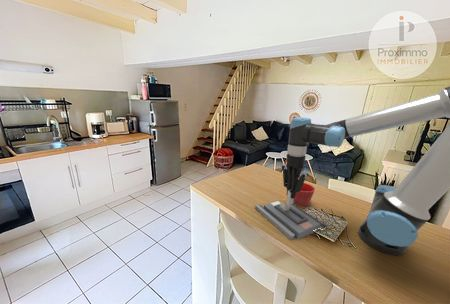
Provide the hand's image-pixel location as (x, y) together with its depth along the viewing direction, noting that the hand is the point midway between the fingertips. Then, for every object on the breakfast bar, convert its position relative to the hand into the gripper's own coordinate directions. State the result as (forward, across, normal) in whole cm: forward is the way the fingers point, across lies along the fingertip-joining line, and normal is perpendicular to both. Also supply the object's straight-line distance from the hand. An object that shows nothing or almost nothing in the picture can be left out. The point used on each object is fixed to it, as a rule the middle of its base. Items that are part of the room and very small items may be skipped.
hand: (289, 203), depth 85 cm
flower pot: (+8, +7, -17) cm, 20 cm away
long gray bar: (+8, -1, -8) cm, 11 cm away
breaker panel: (+8, -1, 0) cm, 8 cm away
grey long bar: (+8, +1, +9) cm, 12 cm away
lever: (+5, +3, 0) cm, 5 cm away
